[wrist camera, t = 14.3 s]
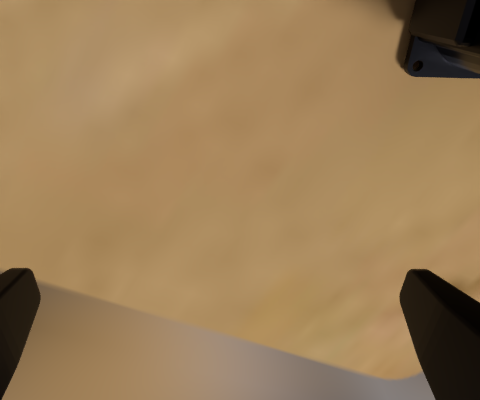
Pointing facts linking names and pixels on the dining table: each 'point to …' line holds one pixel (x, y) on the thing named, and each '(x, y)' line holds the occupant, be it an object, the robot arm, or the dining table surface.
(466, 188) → the dining table surface
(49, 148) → the dining table surface
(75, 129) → the dining table surface
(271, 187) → the dining table surface
